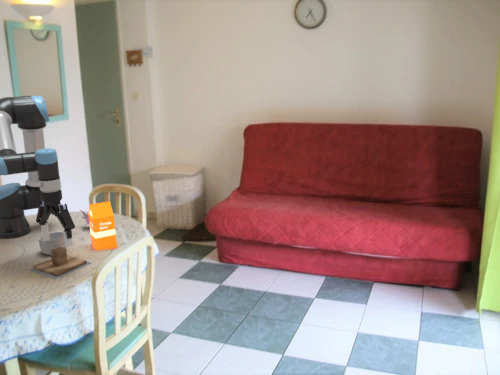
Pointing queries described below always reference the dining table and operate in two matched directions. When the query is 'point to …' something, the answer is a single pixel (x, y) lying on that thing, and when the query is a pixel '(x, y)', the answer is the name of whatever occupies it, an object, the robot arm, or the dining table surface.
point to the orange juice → (102, 226)
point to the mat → (60, 275)
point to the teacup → (52, 242)
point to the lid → (59, 263)
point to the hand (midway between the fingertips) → (57, 243)
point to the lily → (86, 218)
